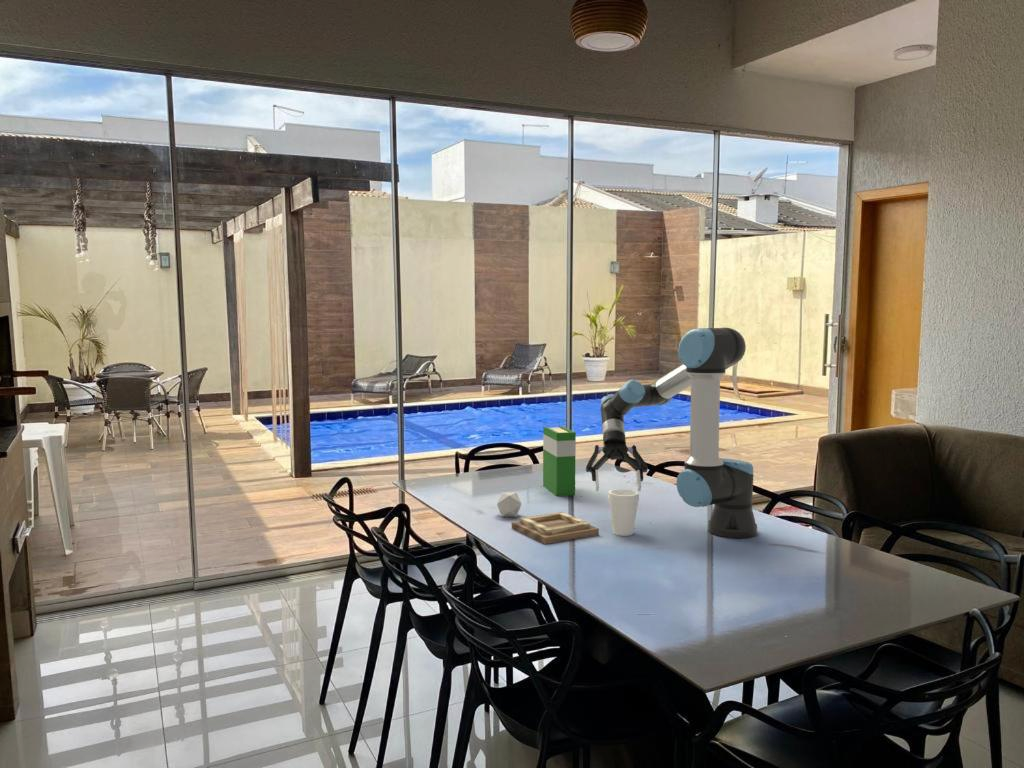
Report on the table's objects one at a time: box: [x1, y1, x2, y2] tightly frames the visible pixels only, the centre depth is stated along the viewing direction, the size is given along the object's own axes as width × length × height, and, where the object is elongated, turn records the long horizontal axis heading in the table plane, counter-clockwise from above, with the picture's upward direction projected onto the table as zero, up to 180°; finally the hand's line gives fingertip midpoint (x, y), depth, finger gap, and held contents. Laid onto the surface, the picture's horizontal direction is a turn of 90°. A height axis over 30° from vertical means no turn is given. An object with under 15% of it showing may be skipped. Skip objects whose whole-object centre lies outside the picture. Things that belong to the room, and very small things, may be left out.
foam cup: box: [607, 488, 640, 537], centre depth 252 cm, size 10×9×13 cm
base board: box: [511, 511, 600, 545], centre depth 254 cm, size 20×20×4 cm
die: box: [496, 492, 522, 518], centre depth 274 cm, size 8×9×10 cm
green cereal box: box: [542, 425, 577, 497], centre depth 310 cm, size 18×7×24 cm, turn 14°
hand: (618, 489), depth 259 cm, fingers open, 13 cm apart
